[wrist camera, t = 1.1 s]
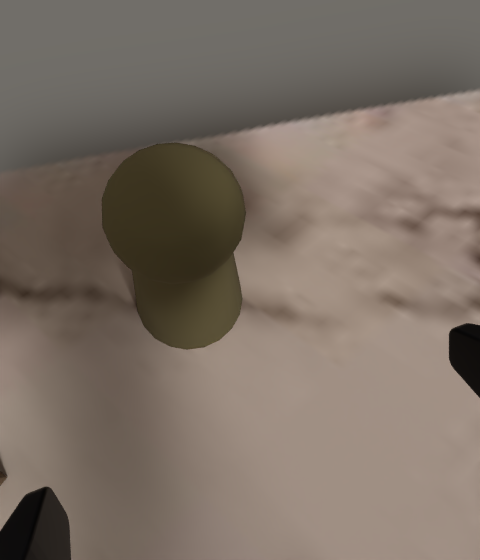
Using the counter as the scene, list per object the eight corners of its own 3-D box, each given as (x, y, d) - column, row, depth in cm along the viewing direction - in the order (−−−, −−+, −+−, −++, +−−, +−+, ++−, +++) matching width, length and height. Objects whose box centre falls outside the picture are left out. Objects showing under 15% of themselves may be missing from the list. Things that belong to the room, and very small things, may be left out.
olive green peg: (172, 371, 22) (136, 307, 12) (117, 284, 24) (43, 163, 14) (263, 310, 24) (298, 208, 14) (204, 233, 26) (196, 90, 15)
